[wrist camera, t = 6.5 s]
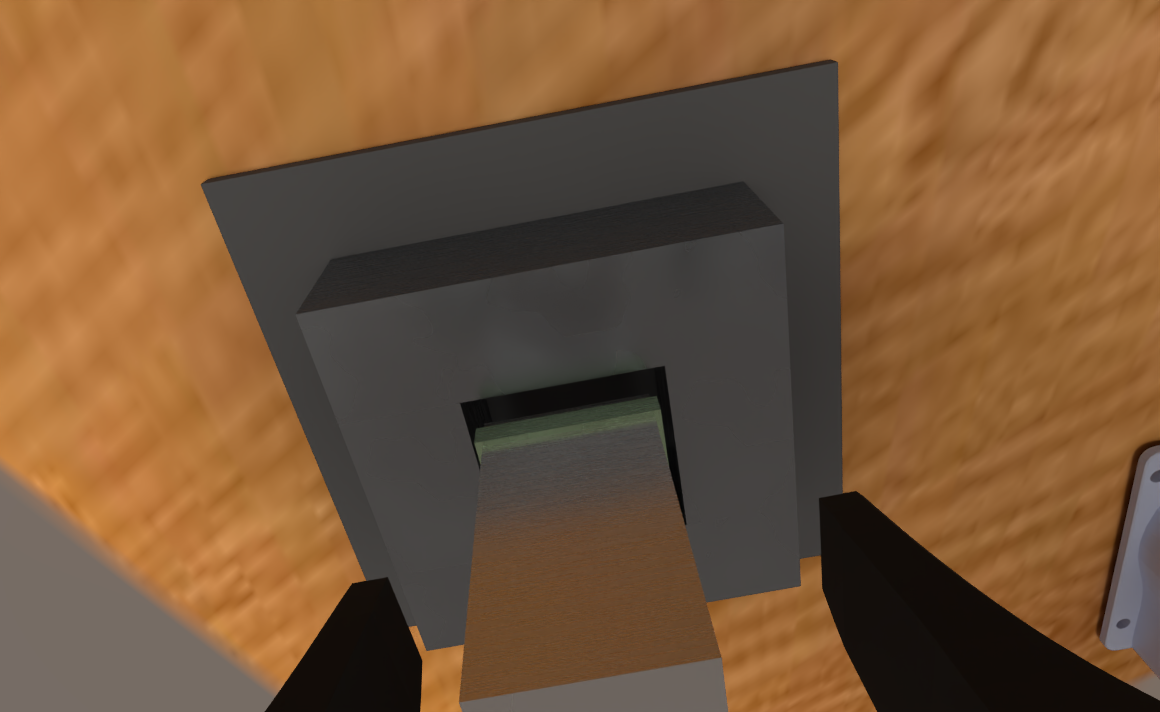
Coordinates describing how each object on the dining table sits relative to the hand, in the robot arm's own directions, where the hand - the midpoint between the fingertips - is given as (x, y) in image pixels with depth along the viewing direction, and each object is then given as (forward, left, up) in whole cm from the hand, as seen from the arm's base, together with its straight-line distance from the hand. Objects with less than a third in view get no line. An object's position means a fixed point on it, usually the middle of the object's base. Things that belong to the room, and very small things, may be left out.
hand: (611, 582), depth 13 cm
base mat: (-2, 0, -10) cm, 11 cm away
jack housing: (-2, 0, -10) cm, 11 cm away
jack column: (-2, 0, -7) cm, 7 cm away
